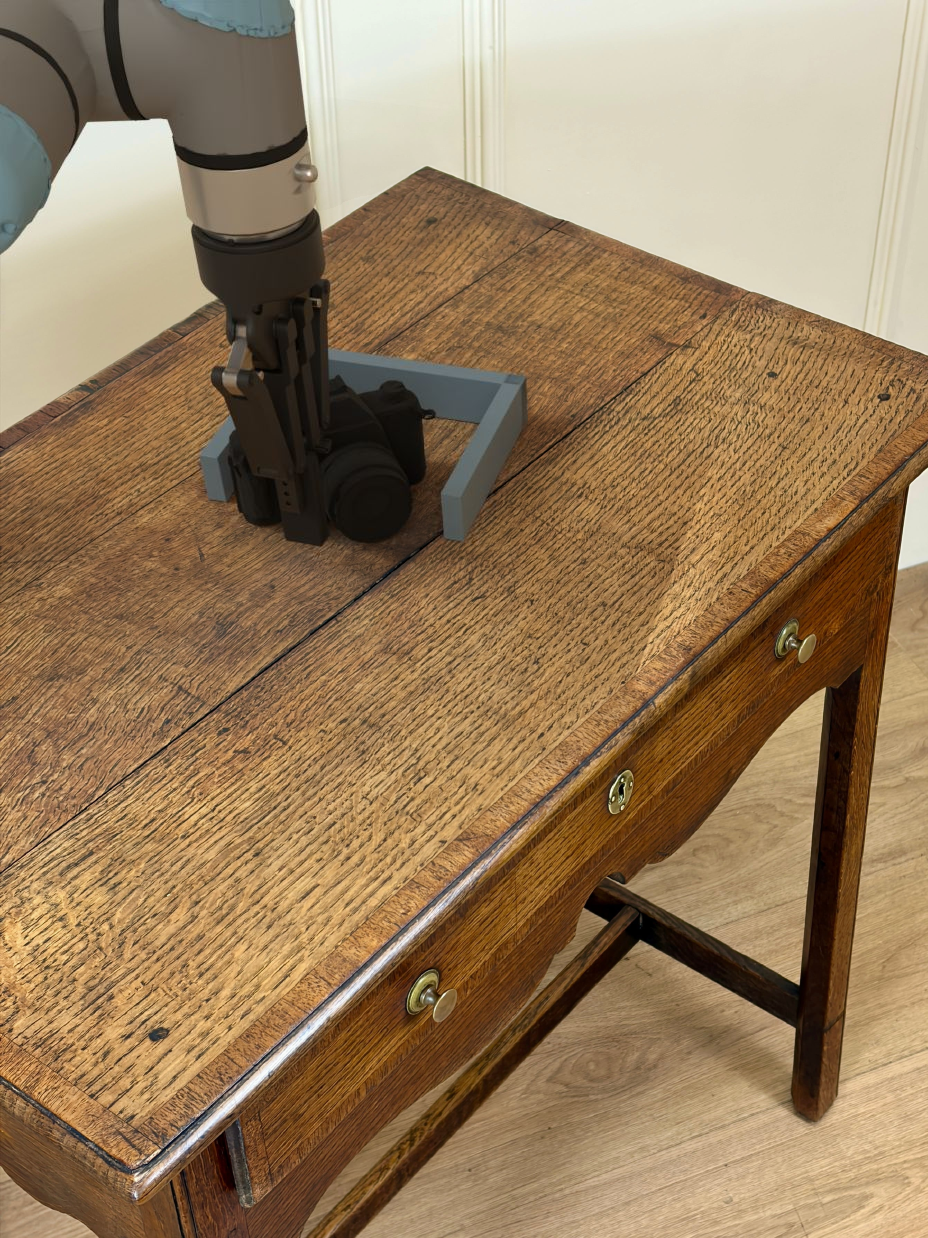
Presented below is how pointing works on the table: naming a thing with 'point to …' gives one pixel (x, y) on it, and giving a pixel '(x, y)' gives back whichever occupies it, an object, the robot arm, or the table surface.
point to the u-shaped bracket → (437, 388)
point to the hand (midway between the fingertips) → (307, 537)
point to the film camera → (353, 463)
